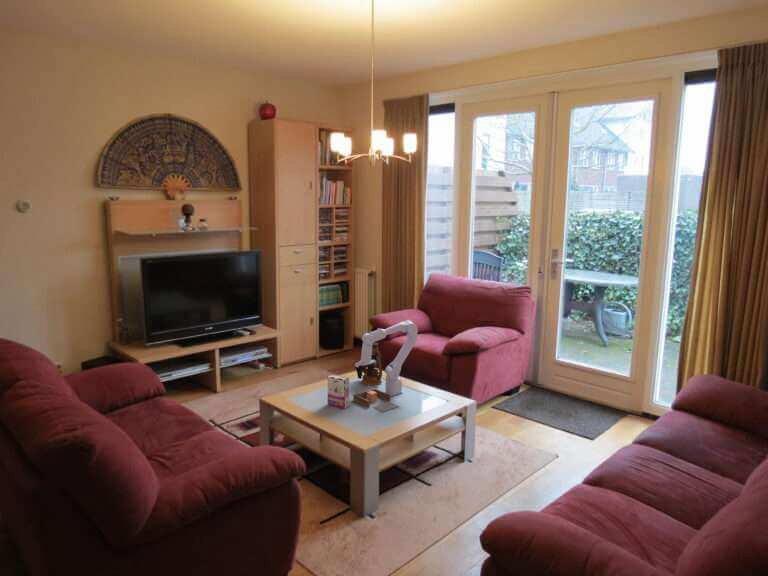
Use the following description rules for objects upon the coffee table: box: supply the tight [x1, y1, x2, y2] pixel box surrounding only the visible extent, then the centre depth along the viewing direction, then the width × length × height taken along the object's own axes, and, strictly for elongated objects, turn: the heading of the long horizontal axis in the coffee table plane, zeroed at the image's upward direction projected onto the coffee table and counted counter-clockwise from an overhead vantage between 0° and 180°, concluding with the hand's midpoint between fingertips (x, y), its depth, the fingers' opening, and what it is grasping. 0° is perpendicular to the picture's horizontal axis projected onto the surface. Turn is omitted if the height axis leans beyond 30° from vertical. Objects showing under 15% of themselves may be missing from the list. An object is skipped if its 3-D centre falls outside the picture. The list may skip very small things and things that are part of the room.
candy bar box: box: [327, 374, 350, 410], centre depth 294 cm, size 11×5×16 cm, turn 62°
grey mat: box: [372, 401, 400, 413], centre depth 295 cm, size 12×8×1 cm, turn 132°
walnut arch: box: [352, 388, 391, 409], centre depth 304 cm, size 16×13×4 cm
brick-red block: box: [366, 391, 378, 404], centre depth 304 cm, size 4×4×5 cm
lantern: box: [360, 341, 383, 387], centre depth 332 cm, size 17×13×30 cm
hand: (364, 377), depth 311 cm, fingers open, 7 cm apart
